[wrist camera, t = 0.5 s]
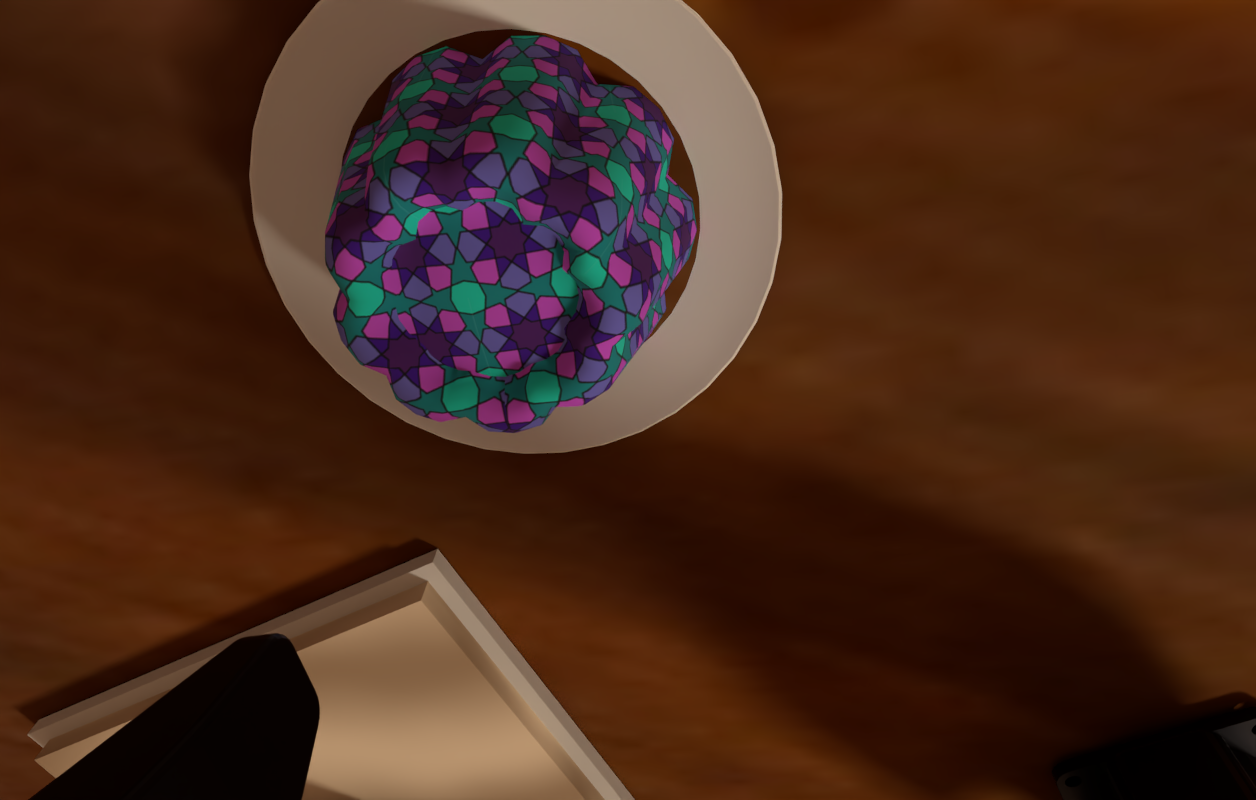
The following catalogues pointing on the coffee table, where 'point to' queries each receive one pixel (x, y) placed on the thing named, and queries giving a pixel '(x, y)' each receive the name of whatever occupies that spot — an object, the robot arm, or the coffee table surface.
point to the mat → (345, 603)
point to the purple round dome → (515, 213)
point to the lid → (402, 714)
